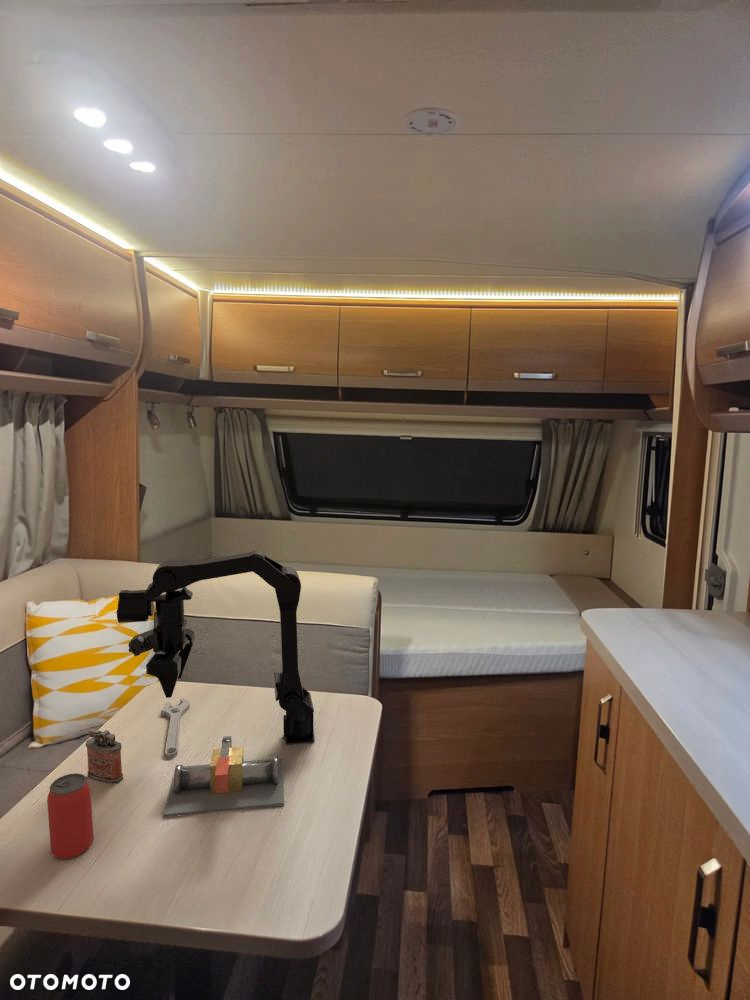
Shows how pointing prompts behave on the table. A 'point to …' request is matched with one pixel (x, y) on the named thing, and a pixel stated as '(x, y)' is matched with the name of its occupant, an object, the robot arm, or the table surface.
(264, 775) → the valve body
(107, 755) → the lighter
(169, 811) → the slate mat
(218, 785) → the lever
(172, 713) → the adjustable wrench
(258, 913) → the table surface
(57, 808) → the beer can
